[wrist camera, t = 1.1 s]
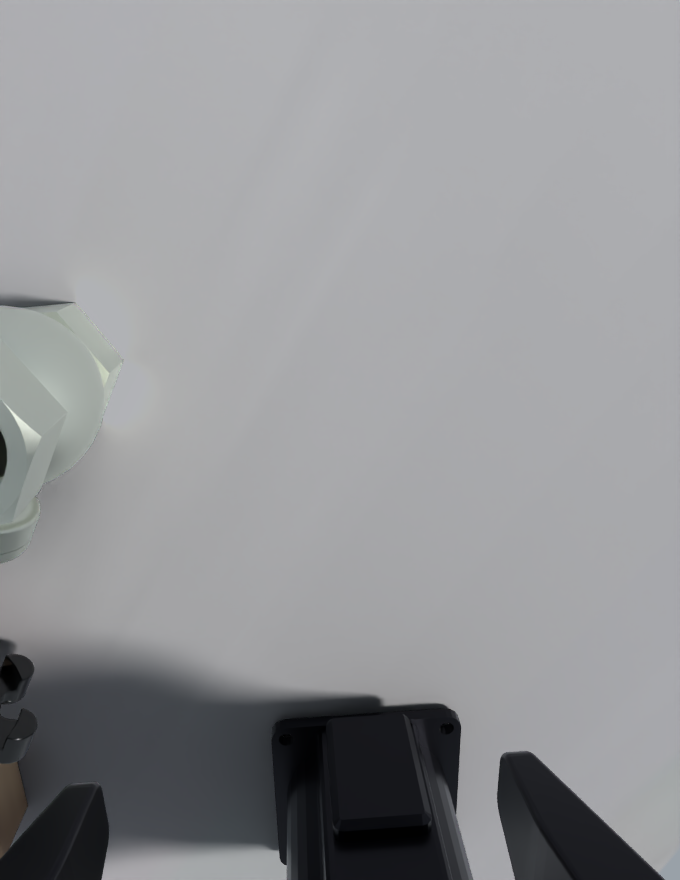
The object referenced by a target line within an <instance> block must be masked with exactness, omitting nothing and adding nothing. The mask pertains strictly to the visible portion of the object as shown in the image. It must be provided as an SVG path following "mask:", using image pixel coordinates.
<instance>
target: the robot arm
mask: <svg viewBox="0 0 680 880" xmlns="http://www.w3.org/2000/svg"><path fill="white" fill-rule="evenodd" d="M444 723H449V724H448V725H445V726H441V725H442V724H444ZM284 734H290V735H291V736H288V737H285V736H282V735H284ZM460 736H461V725H460V721H459V718H458V715H457V714H456V713H455V711H453V710H451V709H431V710H417V711H402V712H387V713H372V714H358V715H343V716H328V717H313V718H298V719H285V720H281V721H279V722H277V723H276V724H275V725H274V726H273V729H272V754H273V768H274V782H275V796H276V811H277V825H278V839H279V853H280V860H281V862H282V863H283V864H284V865H287V880H473V877H472V873H471V870H470V866H469V862H468V858H467V855H466V851H465V847H464V844H463V840H462V836H461V833H460V829H459V825H458V821H457V818H456V807H457V790H458V772H459V754H460ZM497 802H498V809H499V815H500V819H501V823H502V827H503V831H504V835H505V839H506V844H507V848H508V852H509V856H510V860H511V864H512V868H513V872H514V876H515V880H664V878H663V877H662V876H661V875H659V874H658V873H657V872H656V871H655V870H654V869H653V868H652V867H651V866H650V865H649V864H648V863H647V862H646V861H645V860H644V859H643V858H642V857H641V856H640V855H639V854H638V853H636V852H635V851H634V850H633V849H632V848H631V847H630V846H629V845H628V844H627V843H626V842H625V841H624V840H623V839H622V838H621V837H620V836H619V835H618V834H617V833H616V832H615V831H613V830H612V829H611V828H610V827H609V826H608V825H607V824H606V823H605V822H604V821H603V820H602V819H601V818H600V817H599V816H598V815H597V814H596V813H595V812H594V811H593V810H591V809H590V808H589V807H588V806H587V805H586V804H585V803H584V802H583V801H582V800H581V799H580V798H579V797H578V796H577V795H576V794H575V793H574V792H573V791H572V790H571V789H570V788H568V787H567V786H566V785H565V784H564V783H563V782H562V781H561V780H560V779H559V778H558V777H557V776H556V775H555V774H554V773H553V772H552V771H551V770H550V769H549V768H548V767H547V766H545V765H544V764H543V763H542V762H541V761H540V760H539V759H538V758H537V757H536V756H535V755H534V754H532V753H531V752H528V751H519V752H506V753H504V754H503V755H502V756H501V759H500V768H499V780H498V792H497ZM108 839H109V824H108V819H107V813H106V808H105V803H104V797H103V792H102V788H101V786H100V784H99V783H97V782H86V783H73V784H70V785H68V786H67V787H65V788H64V789H63V790H62V792H61V793H60V794H59V795H58V796H57V797H56V798H55V799H54V800H53V801H52V802H51V804H50V805H49V806H48V807H47V808H46V809H45V810H44V811H43V812H42V813H41V814H40V816H39V817H38V818H37V819H36V820H35V821H34V822H33V823H32V824H31V825H30V827H29V828H28V829H27V830H26V831H25V832H24V833H23V834H22V835H21V836H20V837H19V839H18V840H17V841H16V842H15V843H14V844H13V845H12V846H11V847H10V848H9V849H8V851H7V852H6V853H5V854H4V855H3V856H2V857H1V858H0V880H101V879H102V874H103V868H104V863H105V857H106V852H107V846H108Z"/></svg>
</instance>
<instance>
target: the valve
mask: <svg viewBox="0 0 680 880" xmlns="http://www.w3.org/2000/svg"><path fill="white" fill-rule="evenodd" d="M122 363H123V358H122V357H121V356H120V354H119V353H118V352H117V350H116V349H115V348H114V347H113V346H112V345H111V343H110V342H109V341H108V340H107V339H106V338H105V336H104V335H103V334H102V333H101V332H100V330H99V329H98V328H97V327H96V326H95V325H94V323H93V322H92V321H91V320H90V319H89V317H88V316H87V315H86V314H85V313H84V312H83V310H82V309H81V308H80V307H79V306H78V305H77V304H76V303H65V304H55V305H44V306H34V307H24V308H19V307H11V306H0V564H2V563H5V562H8V561H11V560H13V559H15V558H17V557H18V556H20V555H21V554H22V553H23V552H24V551H25V550H26V549H27V547H28V545H29V544H30V541H31V538H32V535H33V533H34V530H35V527H36V524H37V521H38V519H39V516H40V510H41V508H40V503H39V501H38V499H37V497H36V495H37V494H38V492H39V491H40V490H41V487H42V484H45V483H47V482H50V481H52V480H54V479H56V478H57V477H59V476H60V475H62V474H63V473H65V472H67V471H68V470H69V469H71V468H72V467H73V466H74V465H75V464H76V463H77V462H78V461H79V460H80V459H81V458H82V457H83V456H84V455H85V453H86V452H87V450H88V449H89V448H90V446H91V445H92V443H93V442H94V440H95V437H96V435H97V433H98V431H99V429H100V426H101V423H102V419H103V415H104V413H105V410H106V407H107V404H108V402H109V399H110V396H111V394H112V391H113V388H114V386H115V383H116V380H117V377H118V375H119V372H120V369H121V367H122ZM33 673H34V665H33V663H32V662H31V660H29V659H28V658H27V657H25V656H22V655H18V654H9V655H6V657H5V660H4V662H3V665H2V666H1V667H0V708H1V704H12V703H15V702H18V701H19V700H21V699H22V698H23V697H24V695H25V694H26V691H27V689H28V686H29V683H30V681H31V678H32V675H33ZM36 729H37V719H36V717H35V715H34V714H33V713H31V712H30V711H28V710H26V709H24V708H23V709H21V712H20V714H19V717H18V720H16V719H7V718H4V717H3V716H1V714H0V763H1V764H10V763H14V762H17V761H19V760H20V759H22V758H23V757H24V756H25V755H26V753H27V751H28V749H29V746H30V744H31V741H32V739H33V736H34V734H35V731H36Z"/></svg>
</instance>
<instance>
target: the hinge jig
mask: <svg viewBox="0 0 680 880" xmlns="http://www.w3.org/2000/svg"><path fill="white" fill-rule="evenodd" d="M27 807H28V804H27V800H26V796H25V792H24V788H23V784H22V780H21V776H20V772H19V768H18V763H17V762H14V763H10V764H1V763H0V858H1V857H2V856H3V855H4V854H5V853H6V852H7V851H8V849H9V848H10V846H11V843H12V841H13V839H14V836H15V834H16V832H17V830H18V827H19V825H20V823H21V820H22V818H23V816H24V814H25V811H26V809H27Z"/></svg>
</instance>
